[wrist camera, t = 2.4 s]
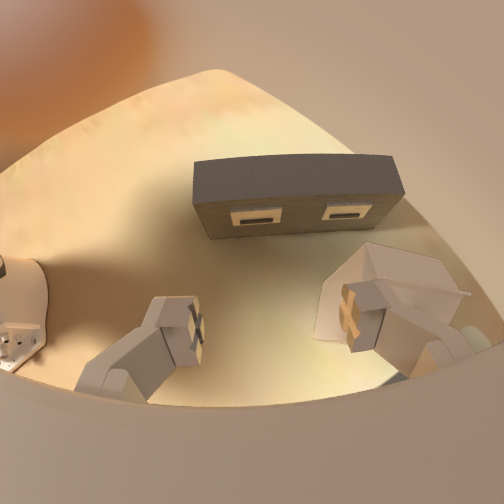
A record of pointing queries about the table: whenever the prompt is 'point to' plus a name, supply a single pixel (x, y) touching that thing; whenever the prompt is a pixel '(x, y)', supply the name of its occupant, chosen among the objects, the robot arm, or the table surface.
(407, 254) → the milk carton
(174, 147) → the table surface
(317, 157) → the grey rectangular box
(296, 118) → the table surface
